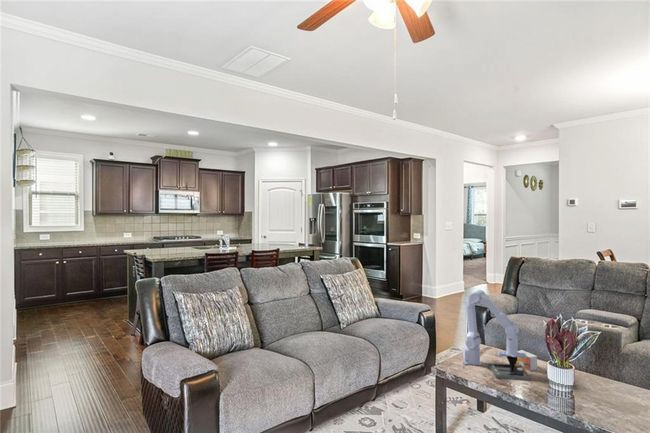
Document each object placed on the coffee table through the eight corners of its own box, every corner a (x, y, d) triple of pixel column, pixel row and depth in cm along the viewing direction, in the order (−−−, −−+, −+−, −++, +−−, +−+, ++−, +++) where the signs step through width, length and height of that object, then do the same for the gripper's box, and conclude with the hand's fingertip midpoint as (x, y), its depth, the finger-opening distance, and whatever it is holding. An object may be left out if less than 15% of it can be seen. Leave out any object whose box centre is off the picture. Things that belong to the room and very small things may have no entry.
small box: (515, 350, 224) (530, 357, 214) (522, 349, 226) (537, 355, 216) (515, 364, 224) (530, 371, 214) (522, 363, 226) (537, 369, 216)
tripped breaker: (514, 371, 210) (514, 365, 210) (513, 370, 213) (513, 363, 213) (520, 371, 210) (520, 365, 210) (518, 370, 212) (518, 363, 212)
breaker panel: (496, 378, 206) (496, 368, 206) (488, 366, 221) (488, 357, 221) (531, 380, 203) (531, 370, 203) (521, 368, 218) (521, 359, 218)
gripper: (500, 347, 209) (500, 371, 209) (528, 348, 206) (528, 373, 206) (496, 343, 216) (496, 366, 216) (523, 344, 213) (523, 368, 213)
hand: (511, 369), depth 212 cm, fingers closed
